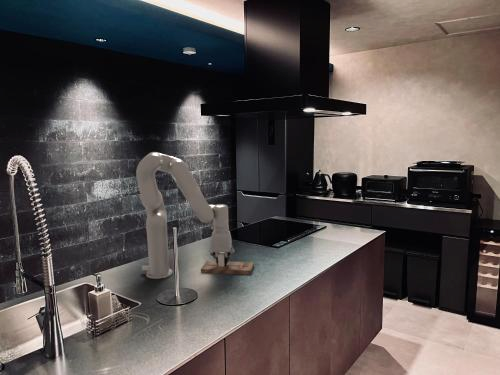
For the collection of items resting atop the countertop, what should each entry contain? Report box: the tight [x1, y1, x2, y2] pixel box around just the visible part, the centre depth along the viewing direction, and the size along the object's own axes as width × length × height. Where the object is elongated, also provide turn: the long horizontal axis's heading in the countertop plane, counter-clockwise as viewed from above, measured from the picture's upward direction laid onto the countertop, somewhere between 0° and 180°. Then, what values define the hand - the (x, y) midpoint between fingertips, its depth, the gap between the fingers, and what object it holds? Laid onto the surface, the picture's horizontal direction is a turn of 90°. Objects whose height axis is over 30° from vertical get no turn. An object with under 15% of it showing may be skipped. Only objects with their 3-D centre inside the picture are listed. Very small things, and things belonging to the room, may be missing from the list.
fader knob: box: [218, 252, 225, 267], centre depth 194 cm, size 3×5×6 cm, turn 172°
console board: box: [200, 260, 255, 276], centre depth 194 cm, size 25×12×2 cm, turn 82°
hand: (222, 264), depth 194 cm, fingers closed on fader knob, 3 cm apart
